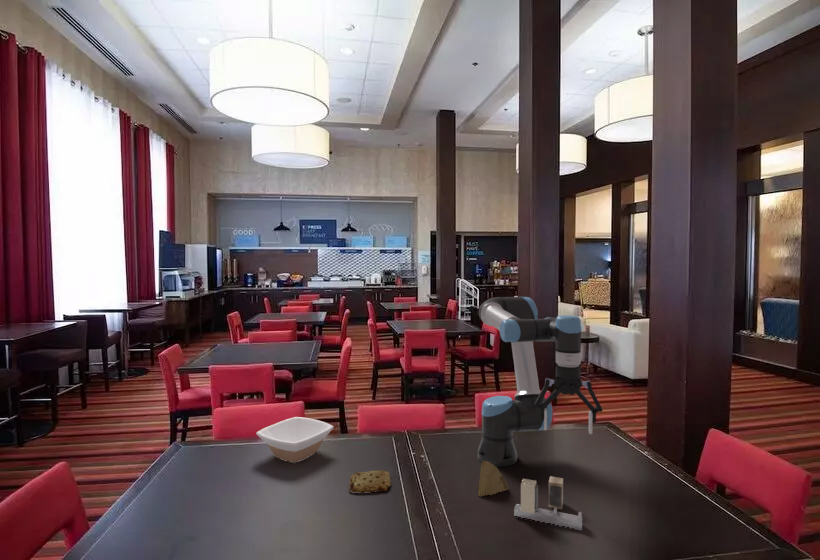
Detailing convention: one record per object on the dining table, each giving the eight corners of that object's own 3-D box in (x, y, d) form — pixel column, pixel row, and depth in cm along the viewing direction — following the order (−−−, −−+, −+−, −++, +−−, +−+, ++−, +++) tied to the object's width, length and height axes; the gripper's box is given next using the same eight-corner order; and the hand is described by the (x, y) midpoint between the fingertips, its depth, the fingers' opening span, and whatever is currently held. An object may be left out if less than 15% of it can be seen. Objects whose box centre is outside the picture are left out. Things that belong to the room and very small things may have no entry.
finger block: (548, 507, 143) (548, 482, 142) (549, 500, 147) (550, 476, 146) (561, 510, 141) (562, 484, 141) (563, 503, 145) (563, 478, 145)
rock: (509, 477, 158) (480, 470, 160) (512, 464, 152) (482, 458, 154) (506, 508, 150) (475, 501, 152) (509, 496, 144) (477, 489, 146)
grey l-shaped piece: (513, 517, 137) (514, 483, 137) (516, 510, 141) (516, 477, 140) (581, 531, 130) (582, 495, 129) (582, 523, 134) (582, 488, 133)
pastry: (404, 483, 159) (404, 475, 159) (367, 503, 147) (367, 494, 147) (371, 468, 171) (371, 460, 171) (334, 485, 159) (333, 477, 158)
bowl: (339, 450, 187) (339, 425, 186) (293, 474, 166) (293, 446, 165) (297, 438, 199) (297, 414, 199) (250, 459, 179) (250, 433, 178)
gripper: (527, 365, 145) (527, 431, 146) (612, 369, 138) (611, 438, 139) (527, 360, 152) (527, 423, 153) (608, 364, 146) (607, 429, 147)
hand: (567, 430), depth 146 cm, fingers open, 13 cm apart
